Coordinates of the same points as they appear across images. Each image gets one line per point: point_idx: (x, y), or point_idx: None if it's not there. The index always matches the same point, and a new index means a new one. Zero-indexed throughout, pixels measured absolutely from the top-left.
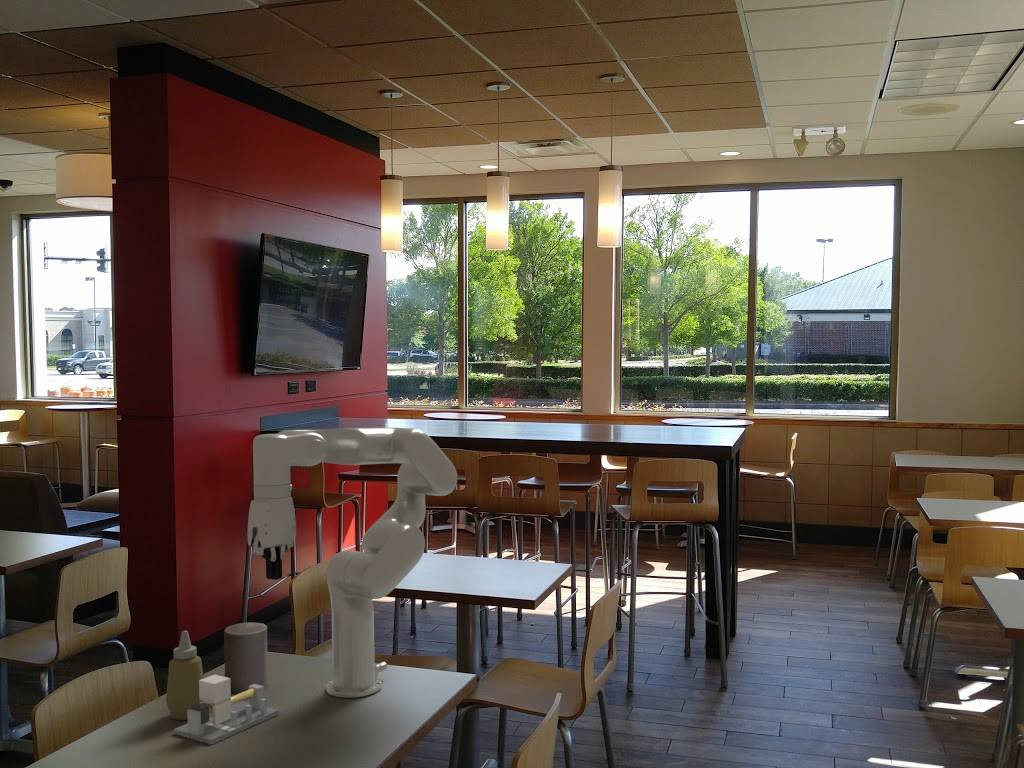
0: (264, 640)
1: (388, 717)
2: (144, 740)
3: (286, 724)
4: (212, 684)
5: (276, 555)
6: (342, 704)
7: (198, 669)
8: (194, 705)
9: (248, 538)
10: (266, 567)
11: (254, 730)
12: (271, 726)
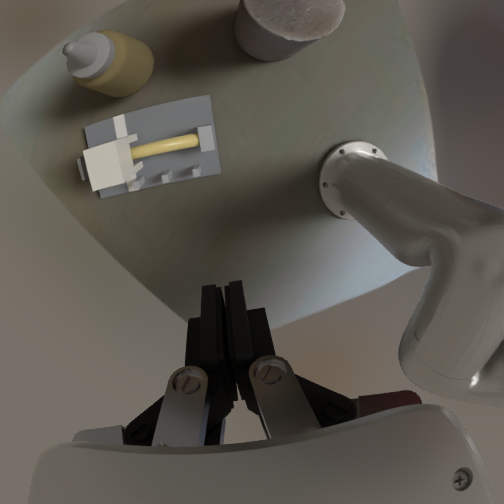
0: (309, 43)
1: (300, 285)
2: (57, 121)
3: (206, 210)
4: (92, 184)
5: (255, 407)
6: (303, 211)
7: (112, 85)
8: (84, 160)
9: (36, 499)
10: (187, 346)
11: (164, 195)
12: (188, 200)
